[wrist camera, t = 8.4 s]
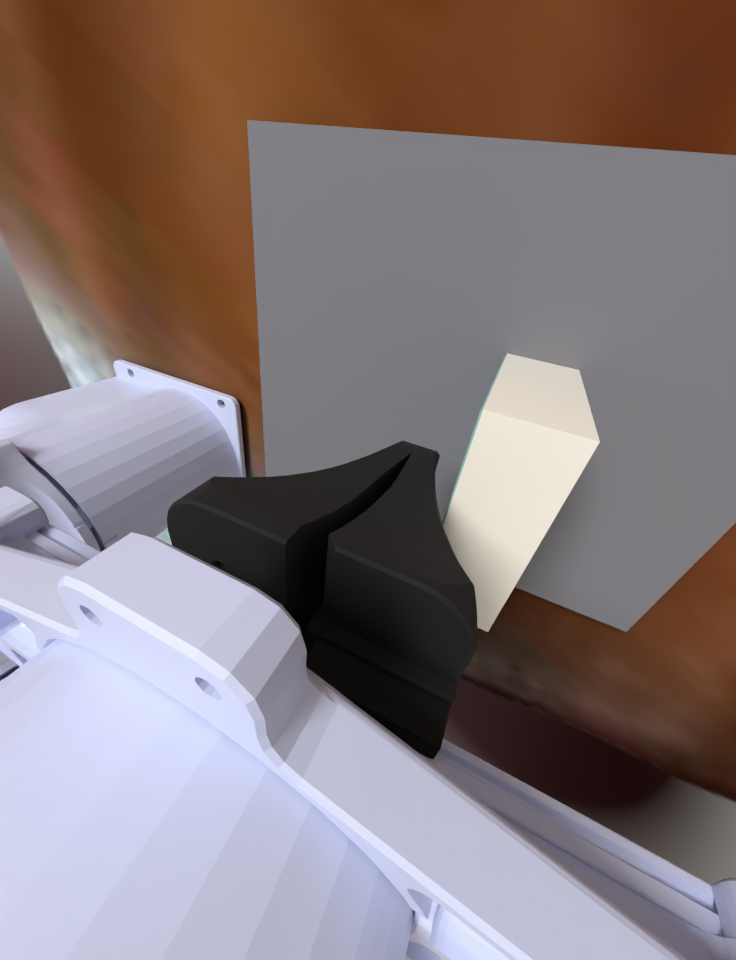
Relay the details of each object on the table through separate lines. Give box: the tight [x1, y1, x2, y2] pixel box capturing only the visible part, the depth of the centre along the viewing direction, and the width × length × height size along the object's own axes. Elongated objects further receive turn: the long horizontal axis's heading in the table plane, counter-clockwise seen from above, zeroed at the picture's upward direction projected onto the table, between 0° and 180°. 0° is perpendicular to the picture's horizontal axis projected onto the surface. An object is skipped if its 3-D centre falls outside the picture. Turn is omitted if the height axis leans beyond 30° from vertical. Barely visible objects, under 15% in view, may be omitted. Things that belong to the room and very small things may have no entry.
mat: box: [247, 120, 736, 632], centre depth 14 cm, size 20×16×1 cm
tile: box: [442, 353, 600, 632], centre depth 12 cm, size 2×7×6 cm, turn 172°
